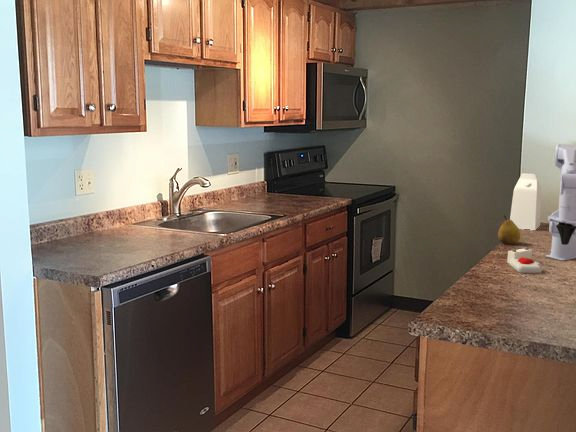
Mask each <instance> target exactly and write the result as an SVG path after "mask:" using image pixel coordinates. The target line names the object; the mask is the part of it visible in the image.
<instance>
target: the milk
mask: <svg viewBox="0 0 576 432" xmlns="http://www.w3.org/2000/svg"><path fill="white" fill-rule="evenodd" d="M511 200H512V201H511V208H510V216H509V219H510V220H512V221H513V222H514V224H515V225H516V226H517V227H518V229H519V230H524V229H530V230H529V231H533V230H535V231H536V229H537V228H538V227H539V226H540V227H541V205H542V187H541V185H540V182H539V180H538V178H537V175H536V174H535V173H526V172H525V173H524V172H523V173H521V175H520V176H519V179H518V180H517V182H516V184H515V186H514V189H513V193H512V199H511ZM540 227H539V228H540ZM539 228H538V229H539ZM538 229H537V230H538Z"/></svg>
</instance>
